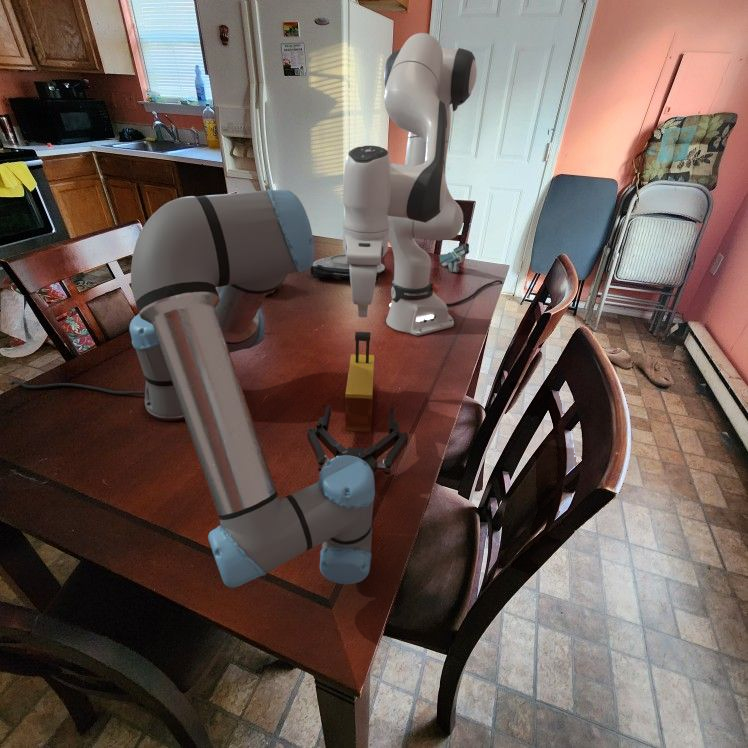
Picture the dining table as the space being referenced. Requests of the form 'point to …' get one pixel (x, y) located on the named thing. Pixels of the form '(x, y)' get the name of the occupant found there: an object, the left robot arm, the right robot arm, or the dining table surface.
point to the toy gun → (455, 257)
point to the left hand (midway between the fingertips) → (359, 411)
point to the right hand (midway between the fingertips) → (364, 305)
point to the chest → (358, 414)
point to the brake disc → (335, 268)
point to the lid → (361, 370)
